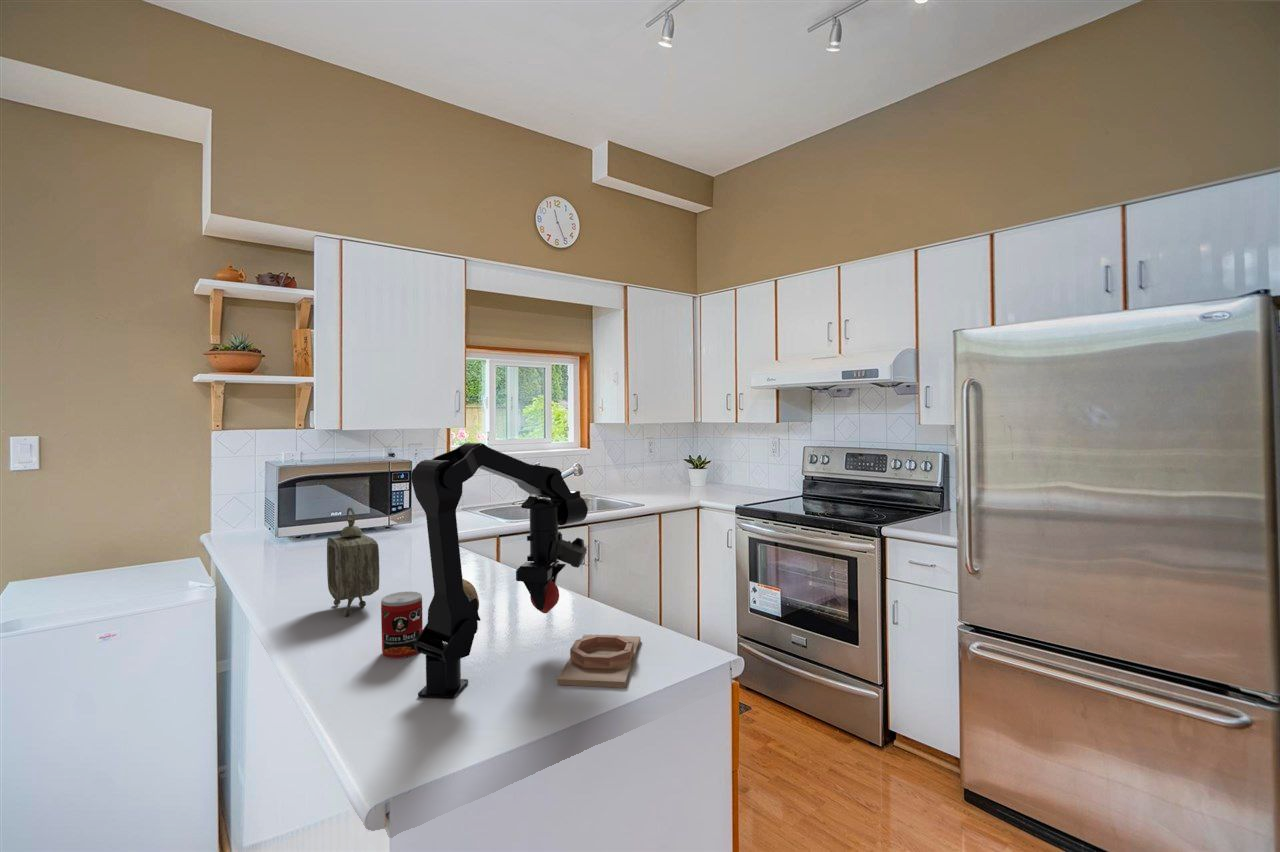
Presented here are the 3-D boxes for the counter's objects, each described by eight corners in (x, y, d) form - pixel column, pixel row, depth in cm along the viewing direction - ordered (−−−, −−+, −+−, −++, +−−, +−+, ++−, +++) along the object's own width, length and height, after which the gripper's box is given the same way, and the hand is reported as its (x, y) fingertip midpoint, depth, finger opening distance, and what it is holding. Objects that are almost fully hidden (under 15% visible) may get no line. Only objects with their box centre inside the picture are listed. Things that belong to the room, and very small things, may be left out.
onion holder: (625, 687, 106) (625, 670, 106) (557, 684, 108) (557, 667, 108) (640, 641, 128) (640, 627, 128) (583, 639, 130) (583, 625, 130)
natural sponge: (437, 618, 144) (436, 575, 144) (476, 613, 147) (475, 572, 147) (439, 630, 136) (438, 585, 135) (480, 625, 139) (480, 581, 139)
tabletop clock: (327, 605, 155) (326, 506, 155) (366, 598, 160) (364, 502, 160) (340, 620, 143) (338, 512, 143) (381, 612, 149) (379, 509, 149)
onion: (553, 618, 122) (553, 578, 122) (526, 617, 123) (525, 577, 123) (563, 609, 128) (562, 571, 128) (536, 608, 129) (536, 570, 129)
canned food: (379, 661, 119) (378, 604, 119) (384, 646, 127) (383, 593, 127) (421, 656, 121) (420, 600, 121) (424, 642, 129) (423, 589, 129)
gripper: (572, 538, 115) (573, 621, 115) (592, 521, 134) (592, 593, 134) (514, 537, 116) (515, 619, 117) (542, 520, 135) (542, 591, 135)
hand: (544, 605), depth 125 cm, fingers closed on onion, 6 cm apart
